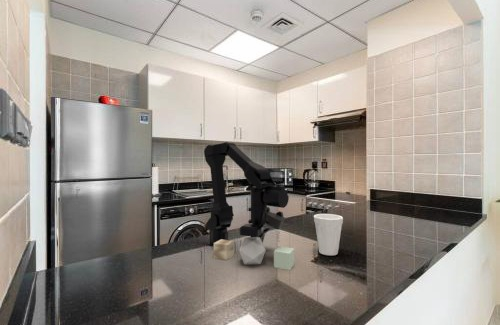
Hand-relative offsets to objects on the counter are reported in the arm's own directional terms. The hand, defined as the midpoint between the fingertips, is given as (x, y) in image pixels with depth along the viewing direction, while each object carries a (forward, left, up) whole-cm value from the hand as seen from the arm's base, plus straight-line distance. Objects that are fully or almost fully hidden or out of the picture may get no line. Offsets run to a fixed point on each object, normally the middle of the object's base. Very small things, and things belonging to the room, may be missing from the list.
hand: (259, 250), depth 83 cm
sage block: (+10, -4, -2) cm, 11 cm away
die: (0, -6, -2) cm, 6 cm away
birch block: (-11, -5, -2) cm, 12 cm away
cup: (+21, +13, -2) cm, 25 cm away
